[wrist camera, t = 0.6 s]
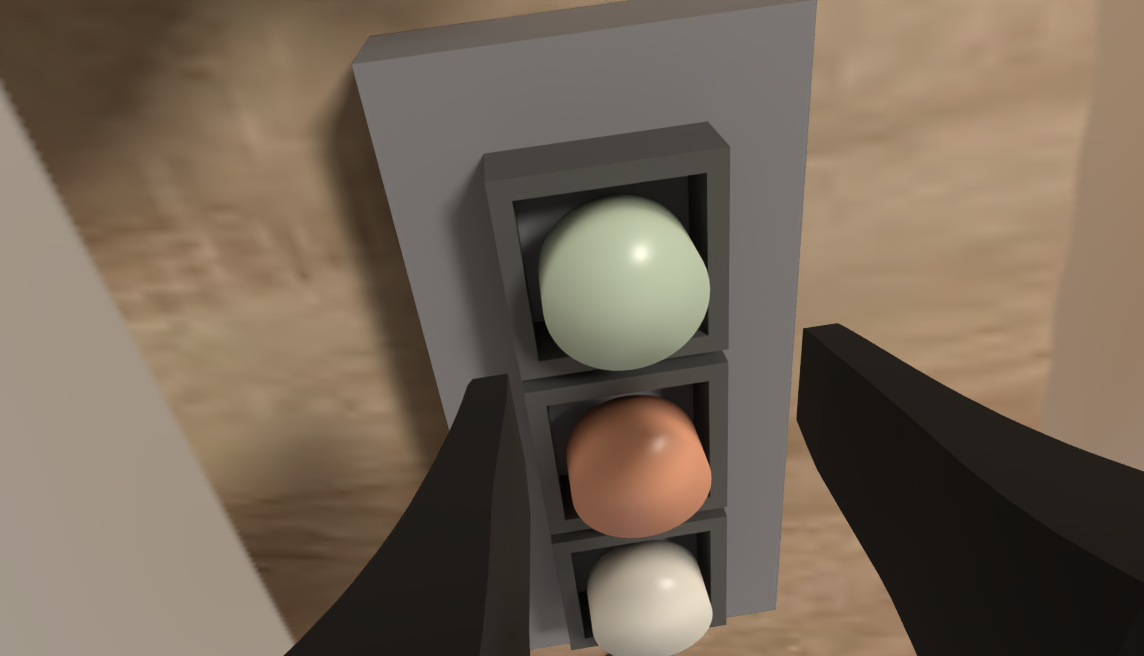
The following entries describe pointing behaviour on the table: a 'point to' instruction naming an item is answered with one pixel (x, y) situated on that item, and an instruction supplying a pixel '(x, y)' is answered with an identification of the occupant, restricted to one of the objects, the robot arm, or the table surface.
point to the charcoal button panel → (583, 172)
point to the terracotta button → (636, 467)
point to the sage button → (621, 283)
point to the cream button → (647, 599)
